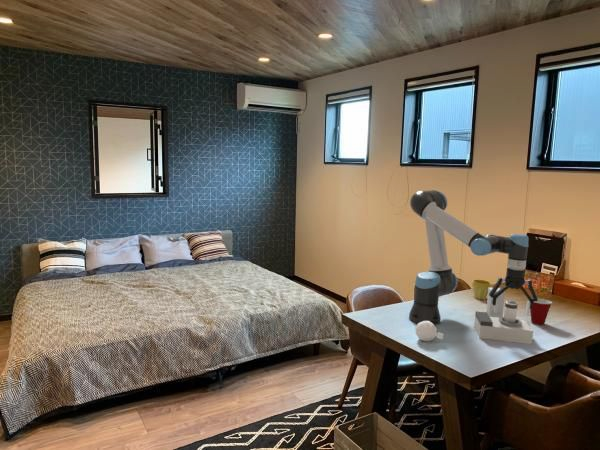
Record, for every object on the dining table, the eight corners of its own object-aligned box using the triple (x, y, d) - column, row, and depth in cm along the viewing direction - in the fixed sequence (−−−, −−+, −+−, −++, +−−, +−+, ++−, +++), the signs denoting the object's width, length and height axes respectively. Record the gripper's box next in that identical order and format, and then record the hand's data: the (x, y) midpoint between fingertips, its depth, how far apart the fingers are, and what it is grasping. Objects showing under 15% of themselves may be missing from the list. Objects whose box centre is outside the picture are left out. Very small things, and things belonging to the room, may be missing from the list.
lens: (504, 324, 204) (506, 303, 203) (502, 320, 209) (504, 299, 208) (516, 325, 203) (519, 304, 202) (513, 321, 208) (516, 300, 207)
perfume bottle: (411, 338, 195) (440, 347, 190) (417, 317, 196) (445, 326, 191) (414, 337, 203) (441, 346, 198) (419, 317, 204) (446, 325, 199)
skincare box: (502, 322, 225) (505, 292, 223) (488, 321, 227) (491, 291, 224) (498, 316, 233) (501, 287, 231) (485, 315, 235) (488, 286, 232)
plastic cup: (546, 320, 230) (549, 298, 229) (552, 328, 220) (555, 304, 218) (523, 317, 233) (526, 295, 232) (527, 325, 223) (530, 301, 221)
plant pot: (491, 297, 268) (492, 281, 267) (487, 301, 260) (489, 285, 258) (472, 293, 274) (474, 278, 272) (469, 297, 265) (470, 281, 264)
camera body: (479, 338, 203) (480, 321, 202) (474, 327, 217) (475, 311, 216) (531, 344, 199) (533, 326, 198) (523, 332, 212) (525, 316, 211)
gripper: (488, 267, 202) (483, 313, 205) (548, 272, 197) (543, 319, 200) (485, 264, 209) (480, 308, 212) (543, 268, 204) (538, 313, 207)
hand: (511, 313), depth 206 cm, fingers open, 13 cm apart
